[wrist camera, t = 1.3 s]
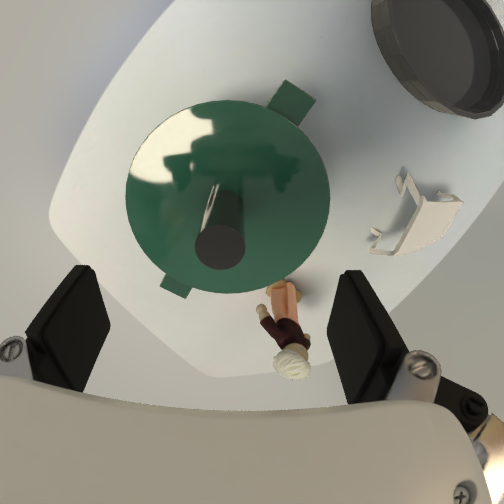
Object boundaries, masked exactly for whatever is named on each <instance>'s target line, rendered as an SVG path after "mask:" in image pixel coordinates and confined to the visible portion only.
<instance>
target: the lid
mask: <svg viewBox="0 0 504 504" xmlns="http://www.w3.org/2000/svg"><path fill="white" fill-rule="evenodd" d="M329 207H330V188H329V181H328V177H327V172H326V169H325V167H324V164H323V161H322V159H321V157H320V155H319V153H318V152H317V150H316V148H315V146H314V145H313V144H312V142H311V141H310V140H309V138H308V137H307V136H306V135H305V134H304V133H303V132H302V131H301V130H300V129H299V128H298V127H297V126H296V125H295V124H293V123H292V122H291V121H289V120H288V119H287V118H285V117H284V116H282V115H280V114H278V113H277V112H275V111H273V110H271V109H268V108H265V107H263V106H260V105H257V104H253V103H248V102H243V101H232V100H223V101H211V102H206V103H202V104H197V105H194V106H192V107H189V108H186V109H184V110H182V111H180V112H178V113H176V114H174V115H172V116H171V117H169V118H168V119H166V120H165V121H164V122H162V123H161V124H160V125H158V126H157V127H156V128H155V129H154V130H153V131H152V132H151V133H150V134H149V135H148V137H147V138H146V139H145V141H144V142H143V143H142V145H141V146H140V148H139V150H138V151H137V153H136V155H135V157H134V159H133V162H132V164H131V167H130V170H129V174H128V178H127V183H126V209H127V215H128V220H129V223H130V226H131V229H132V232H133V234H134V236H135V238H136V240H137V242H138V244H139V245H140V247H141V248H142V250H143V251H144V253H145V254H146V255H147V256H148V257H149V259H150V260H151V261H152V262H153V263H154V264H155V265H156V266H157V267H158V268H160V269H161V270H162V271H163V272H165V273H166V274H167V275H169V276H170V277H172V278H174V279H175V280H177V281H179V282H181V283H183V284H186V285H188V286H190V287H193V288H196V289H200V290H203V291H208V292H214V293H226V294H227V293H242V292H249V291H253V290H257V289H261V288H264V287H266V286H269V285H272V284H274V283H276V282H278V281H280V280H281V279H283V278H285V277H286V276H288V275H289V274H291V273H292V272H293V271H295V270H296V269H297V268H298V267H299V266H300V265H302V263H303V262H304V261H305V260H306V259H307V258H308V257H309V256H310V254H311V253H312V252H313V250H314V249H315V247H316V246H317V244H318V242H319V240H320V238H321V236H322V234H323V232H324V229H325V226H326V223H327V219H328V214H329Z"/></svg>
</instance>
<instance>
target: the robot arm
mask: <svg viewBox="0 0 504 504" xmlns="http://www.w3.org/2000/svg"><path fill="white" fill-rule="evenodd" d="M109 330H110V320H109V318H108V315H107V311H106V308H105V305H104V302H103V299H102V295H101V292H100V288H99V285H98V281H97V278H96V274H95V271H94V270H93V269H91V267H90V266H89V265H76V266H74V268H73V269H72V270H71V271H70V272H69V274H68V275H67V276H66V277H65V279H64V280H63V281H62V282H61V284H60V285H59V286H58V287H57V289H56V290H55V291H54V293H53V294H52V295H51V296H50V298H49V299H48V300H47V302H46V303H45V304H44V306H43V307H42V308H41V310H40V311H39V313H38V314H37V315H36V317H35V318H34V320H33V321H32V323H31V324H30V325H29V327H28V328H27V330H26V331H25V333H26V335H27V339H26V341H25V339H24V338H22V337H20V336H13V337H9V338H8V339H6V340H4V341H3V342H2V343H1V344H0V504H499V502H500V500H501V499H502V497H503V495H504V422H502V421H501V420H500V419H499V418H498V417H497V416H495V415H494V414H493V413H492V414H491V415H488V407H487V403H486V401H485V400H484V398H483V397H481V395H479V394H477V393H476V392H473V391H472V390H469V389H467V388H465V387H463V386H461V385H459V384H456V383H454V382H453V381H451V380H448V379H446V378H444V377H442V376H441V366H440V364H439V362H438V361H437V359H436V358H435V357H434V356H433V355H431V354H429V353H427V352H424V351H421V350H414V351H411V352H409V350H408V349H407V347H406V345H405V343H404V341H403V339H402V337H401V336H400V334H399V332H398V330H397V329H396V327H395V325H394V323H393V321H392V320H391V318H390V316H389V315H388V313H387V311H386V309H385V308H384V306H383V305H382V303H381V302H380V300H379V298H378V297H377V295H376V293H375V292H374V290H373V288H372V287H371V285H370V283H369V282H368V280H367V279H366V277H365V275H364V274H363V272H362V271H361V270H346V271H345V273H344V274H341V275H340V278H339V282H338V286H337V291H336V295H335V299H334V303H333V307H332V311H331V315H330V319H329V323H328V326H327V337H328V340H329V343H330V346H331V350H332V353H333V356H334V359H335V363H336V366H337V369H338V372H339V376H340V379H341V382H342V386H343V389H344V393H345V395H346V399H347V403H348V404H349V405H341V406H332V407H321V408H309V409H295V410H277V411H220V410H199V409H185V408H174V407H165V406H156V405H148V404H141V403H134V402H127V401H122V400H116V399H110V398H105V397H100V396H95V395H90V394H86V393H83V391H84V388H85V386H86V383H87V381H88V379H89V376H90V374H91V371H92V369H93V367H94V364H95V362H96V359H97V357H98V355H99V353H100V350H101V348H102V346H103V343H104V341H105V339H106V337H107V335H108V333H109Z"/></svg>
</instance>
